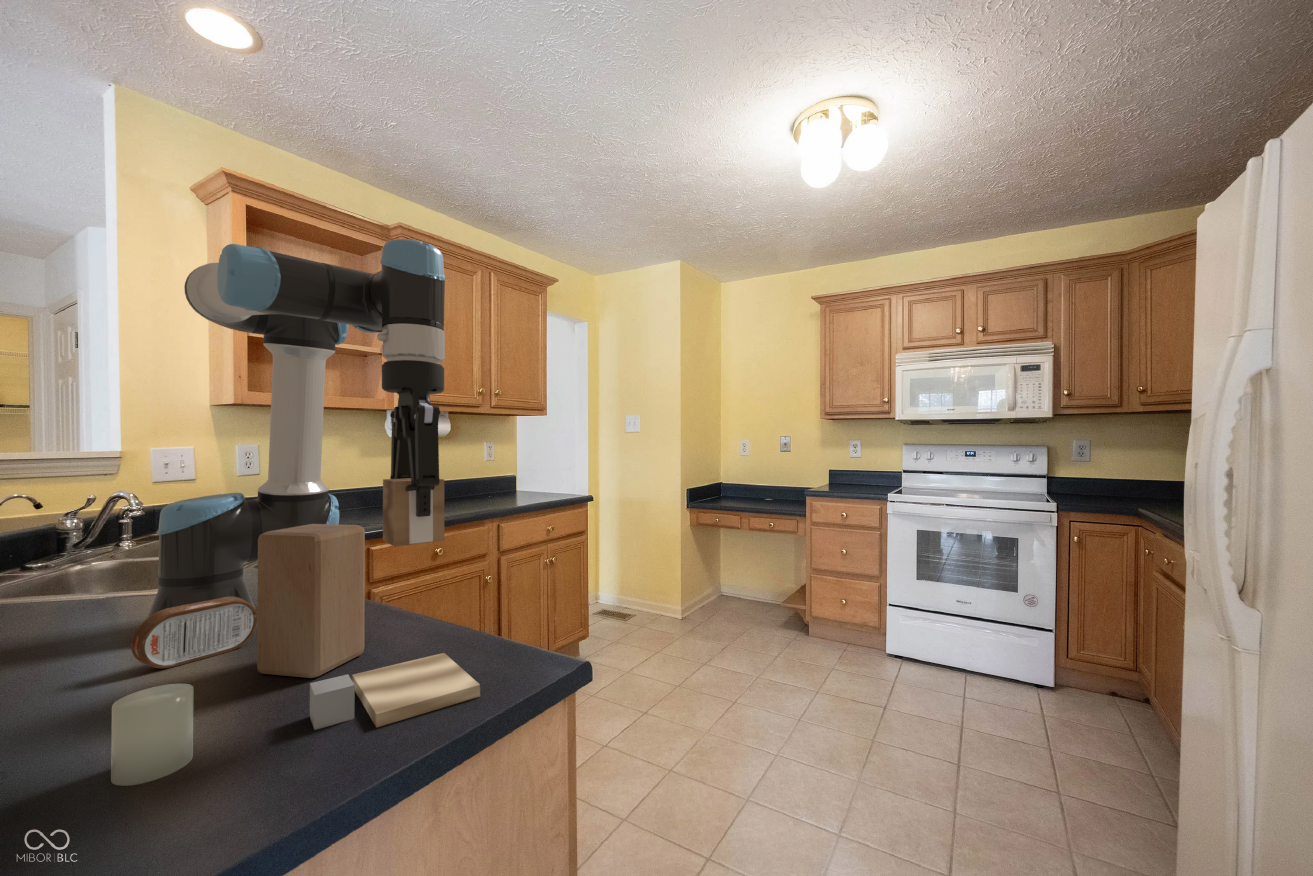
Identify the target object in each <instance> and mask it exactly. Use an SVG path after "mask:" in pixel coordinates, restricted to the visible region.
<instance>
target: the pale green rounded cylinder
mask: <svg viewBox="0 0 1313 876" xmlns="http://www.w3.org/2000/svg"><path fill="white" fill-rule="evenodd" d="M110 739H111V741H110V743H111V744H110V745H111V746H110V748H111V749H110V750H111V753H110V754H111V755H110V757H111V759H110V761H111V762H110V771H111V772H110V782H111V783H112V784H113V785H115V786H121V787H123V786H126V787H128V786H135V785H141V784H146V783H149V782H153V781H156V780H159V779H162V778H164V777H167V776H169V775H171V774H173V773H176V772H178V771H179V770H181V769H182V768H184V767H186V766H187V765H188V764H189V763H190V762H191V761H192V759H193V758H194V686H193V685H191V684H189V683H170V684H162V685H158V686H153V687H149V688H145V689H142V690H138V691H135V692H133V693H130V694H127V695H125V696H123V697H121V698H118V699H117V700H116V701H115V702H114V703H113V704H112V705H111V738H110Z"/></svg>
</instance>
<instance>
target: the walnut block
mask: <svg viewBox="0 0 1313 876" xmlns="http://www.w3.org/2000/svg"><path fill="white" fill-rule="evenodd" d="M439 480H440V482H439V485H437V486H435V487H434V490H433V541H432V542H423V543H414V544H410V543H409V491H406V489H405V487H406V486H408V485H411V478H405V479H390V478H387V479H386V478H385V479H382V541H384V542H385V543H387V544H389V545H391V546H393V547H403V546H410V545H411V546H412V545H421V544H428V543H438V542H445V478H439Z"/></svg>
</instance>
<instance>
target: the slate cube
mask: <svg viewBox="0 0 1313 876" xmlns="http://www.w3.org/2000/svg"><path fill="white" fill-rule="evenodd" d="M355 694H356V692H355V685H354V683H353V682H352V677H350V675H349V674H348V673H347V674H343V675H339V676H334V677H331V678H330V677H329V678H327V679H323V680H319V681H314V682H310V683H309V718H310V721H311V724H312V727H313V730H314V731H315V730H320V729H323V728H326V727H329V726H333V725H337V724H338V725H339V724H341V723H344V722H347V721H351V720H354V719H355V704H356V703H355V699H356V698H355Z"/></svg>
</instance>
